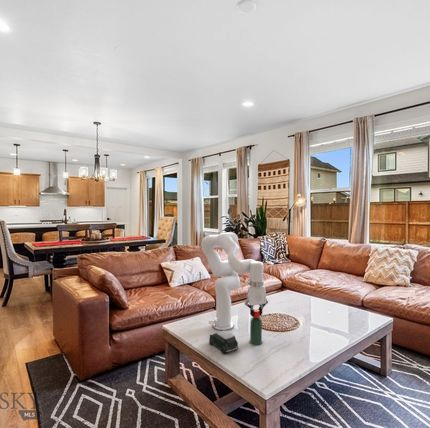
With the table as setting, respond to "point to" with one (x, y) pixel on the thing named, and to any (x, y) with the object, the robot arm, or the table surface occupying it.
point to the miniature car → (224, 341)
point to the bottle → (256, 331)
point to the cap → (256, 313)
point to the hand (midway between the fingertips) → (256, 315)
